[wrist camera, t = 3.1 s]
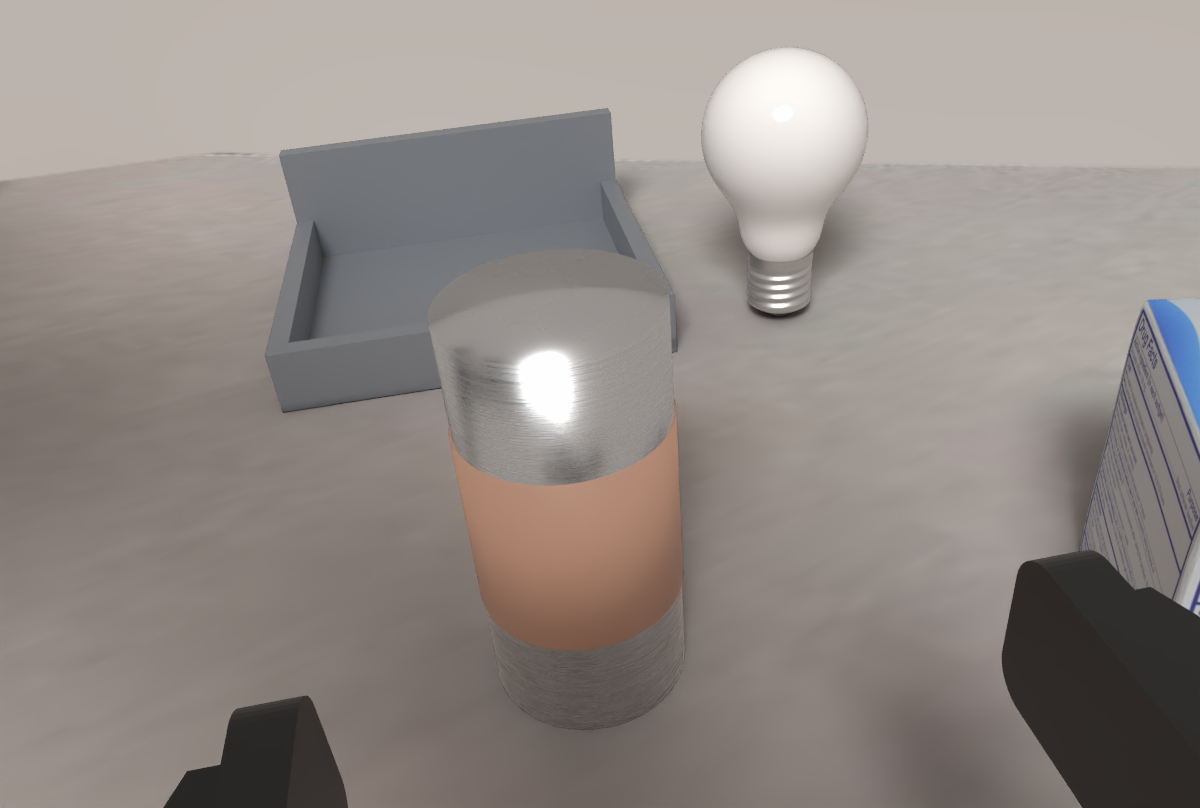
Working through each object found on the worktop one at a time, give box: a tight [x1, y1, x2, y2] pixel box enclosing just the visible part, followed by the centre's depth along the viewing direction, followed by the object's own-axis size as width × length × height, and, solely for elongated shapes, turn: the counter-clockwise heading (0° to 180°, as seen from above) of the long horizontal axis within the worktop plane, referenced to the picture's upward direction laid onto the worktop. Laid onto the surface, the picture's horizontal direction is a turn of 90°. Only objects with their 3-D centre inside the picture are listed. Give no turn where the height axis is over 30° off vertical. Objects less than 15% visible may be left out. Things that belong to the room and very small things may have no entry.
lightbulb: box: [701, 47, 868, 316], centre depth 39 cm, size 6×6×11 cm
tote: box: [265, 108, 677, 412], centre depth 43 cm, size 16×14×6 cm
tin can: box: [428, 249, 685, 730], centre depth 24 cm, size 5×5×11 cm
